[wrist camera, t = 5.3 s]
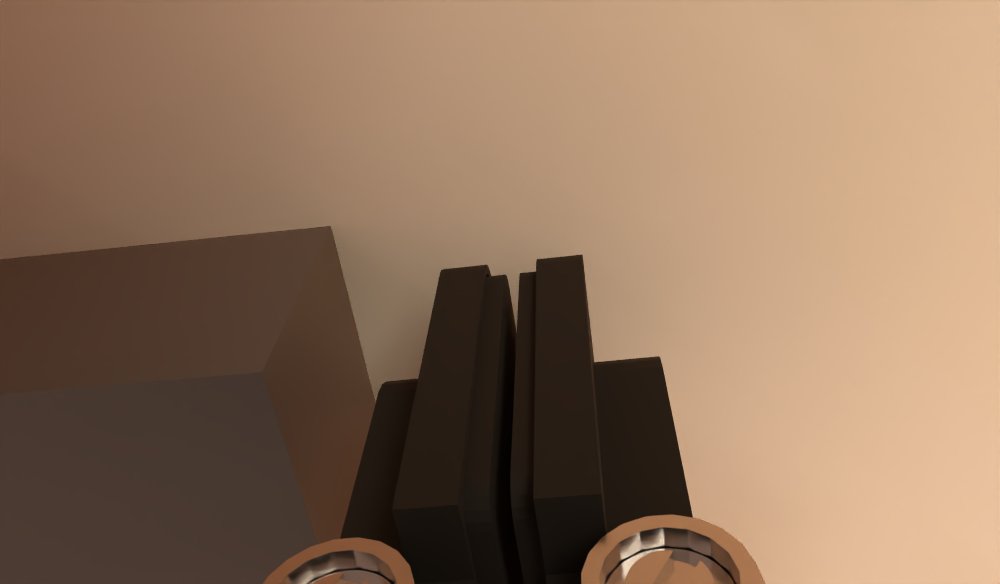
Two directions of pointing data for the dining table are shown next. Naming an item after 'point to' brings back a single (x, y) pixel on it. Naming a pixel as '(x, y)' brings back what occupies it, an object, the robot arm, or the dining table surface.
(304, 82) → the dining table surface
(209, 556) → the dark grey long bar
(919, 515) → the dining table surface
